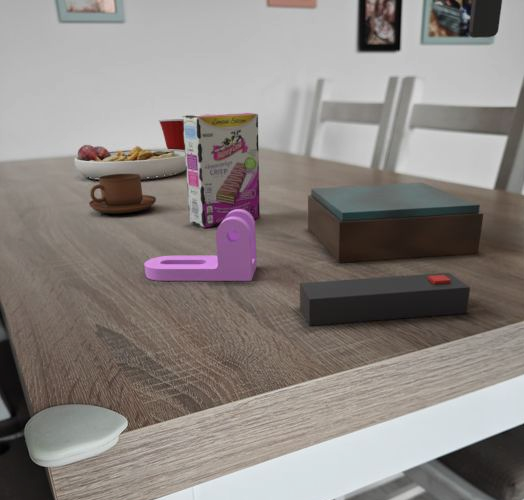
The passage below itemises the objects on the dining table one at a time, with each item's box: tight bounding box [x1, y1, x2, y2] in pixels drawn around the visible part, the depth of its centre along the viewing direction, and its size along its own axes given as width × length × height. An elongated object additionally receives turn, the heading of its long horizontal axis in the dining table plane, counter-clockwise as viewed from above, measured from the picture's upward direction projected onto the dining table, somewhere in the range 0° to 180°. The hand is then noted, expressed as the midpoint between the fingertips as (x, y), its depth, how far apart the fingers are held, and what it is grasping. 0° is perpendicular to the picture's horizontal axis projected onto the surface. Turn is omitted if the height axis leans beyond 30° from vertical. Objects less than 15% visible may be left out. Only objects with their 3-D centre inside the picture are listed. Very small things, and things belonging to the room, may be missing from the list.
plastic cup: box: [157, 118, 185, 150], centre depth 179 cm, size 11×11×12 cm
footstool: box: [307, 182, 484, 264], centre depth 76 cm, size 18×19×6 cm
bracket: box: [143, 209, 258, 282], centre depth 64 cm, size 13×6×7 cm, turn 84°
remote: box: [299, 272, 471, 327], centre depth 52 cm, size 5×15×3 cm, turn 97°
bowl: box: [74, 144, 186, 181], centre depth 146 cm, size 30×30×8 cm
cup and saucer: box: [88, 174, 157, 215], centre depth 101 cm, size 12×12×6 cm
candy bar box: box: [181, 112, 261, 229], centre depth 88 cm, size 11×5×16 cm, turn 126°
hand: (509, 31), depth 42 cm, fingers open, 8 cm apart
